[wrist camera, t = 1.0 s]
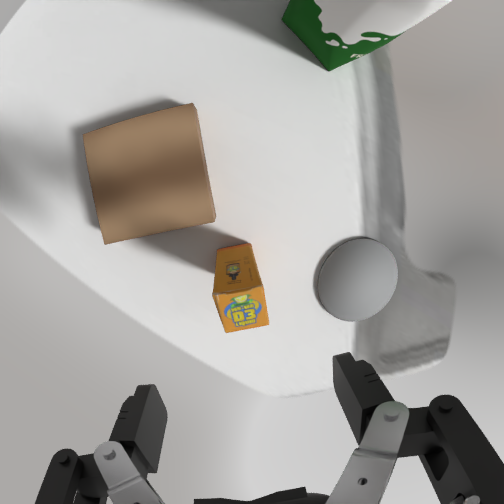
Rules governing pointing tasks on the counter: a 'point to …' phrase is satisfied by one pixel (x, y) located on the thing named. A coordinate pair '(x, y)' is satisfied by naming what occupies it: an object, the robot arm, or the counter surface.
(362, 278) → the grey coaster
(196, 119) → the walnut plinth
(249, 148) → the counter surface
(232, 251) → the supplement box
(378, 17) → the milk carton
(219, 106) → the counter surface
